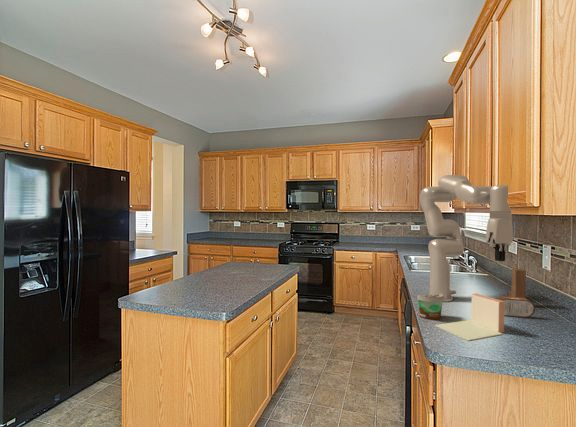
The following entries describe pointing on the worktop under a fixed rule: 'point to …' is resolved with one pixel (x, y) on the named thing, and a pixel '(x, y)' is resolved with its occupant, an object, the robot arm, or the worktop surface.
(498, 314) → the tile
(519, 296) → the wooden block
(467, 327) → the mat
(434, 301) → the food container
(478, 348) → the worktop surface
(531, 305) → the tin
